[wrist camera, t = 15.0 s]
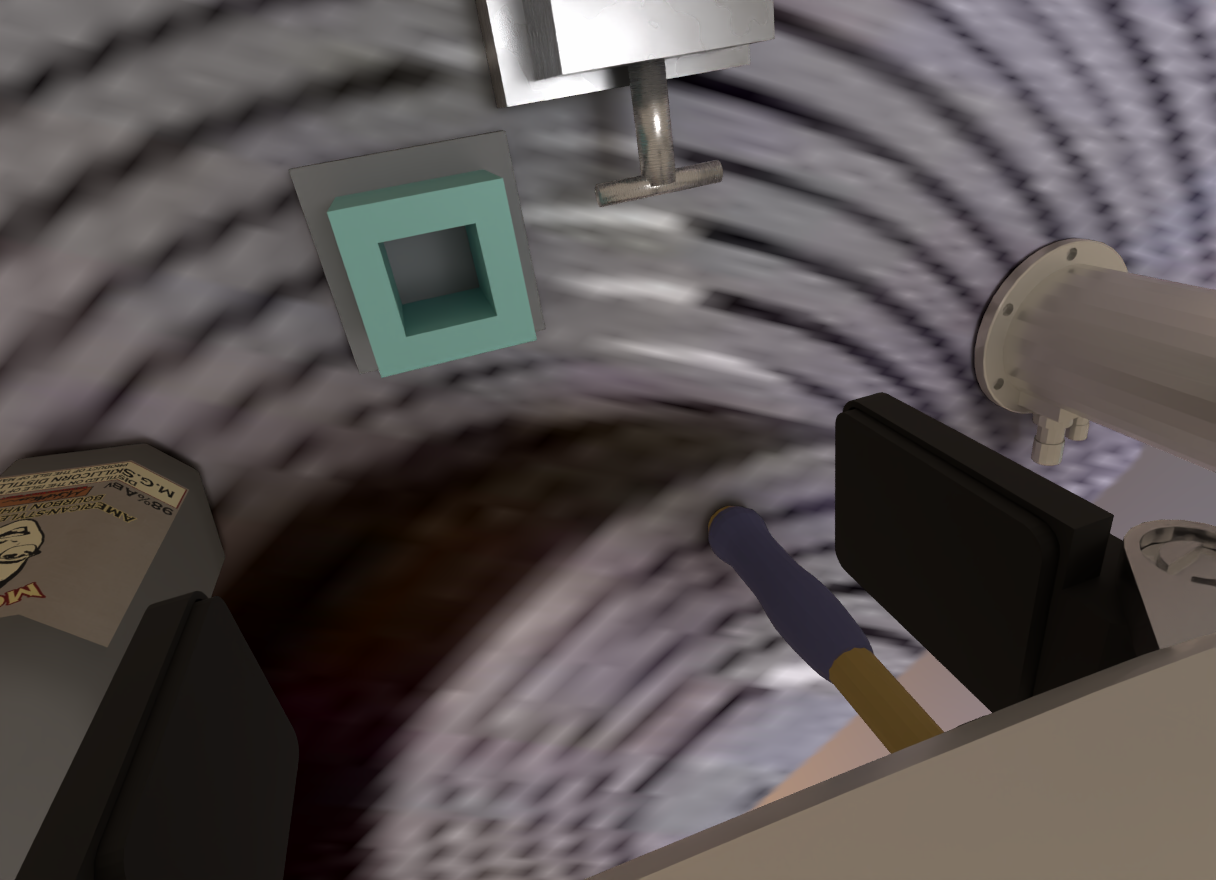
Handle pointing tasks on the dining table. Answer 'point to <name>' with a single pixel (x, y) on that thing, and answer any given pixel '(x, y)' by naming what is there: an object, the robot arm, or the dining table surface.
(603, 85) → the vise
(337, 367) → the dining table surface
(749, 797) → the dining table surface
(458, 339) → the collar
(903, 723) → the rubber mallet
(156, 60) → the dining table surface
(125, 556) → the liquor
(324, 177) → the mat
